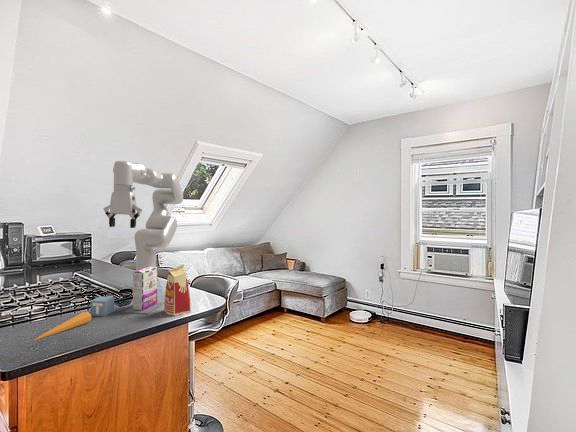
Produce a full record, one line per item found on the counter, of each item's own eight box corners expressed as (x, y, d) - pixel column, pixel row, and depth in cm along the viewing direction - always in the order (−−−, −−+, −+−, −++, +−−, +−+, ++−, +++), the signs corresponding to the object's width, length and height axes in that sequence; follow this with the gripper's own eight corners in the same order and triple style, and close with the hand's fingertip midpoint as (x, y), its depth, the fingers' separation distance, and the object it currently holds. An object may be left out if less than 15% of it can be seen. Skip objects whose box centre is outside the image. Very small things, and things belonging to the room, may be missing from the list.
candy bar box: (147, 302, 146) (148, 266, 145) (157, 303, 145) (158, 267, 144) (131, 310, 135) (132, 271, 134) (142, 311, 134) (143, 272, 133)
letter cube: (100, 310, 134) (100, 296, 134) (114, 311, 134) (114, 297, 134) (90, 315, 128) (90, 300, 128) (104, 316, 128) (104, 301, 127)
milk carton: (181, 306, 143) (183, 262, 142) (191, 312, 136) (193, 265, 136) (161, 310, 136) (162, 264, 136) (171, 316, 130) (172, 267, 129)
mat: (143, 301, 148) (143, 300, 148) (164, 303, 147) (164, 302, 147) (124, 312, 133) (124, 311, 133) (147, 314, 132) (147, 313, 132)
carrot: (87, 322, 123) (83, 311, 123) (95, 320, 121) (91, 308, 121) (30, 349, 104) (25, 335, 104) (37, 346, 103) (33, 333, 103)
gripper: (146, 190, 147) (145, 227, 148) (109, 188, 148) (109, 225, 149) (137, 189, 140) (136, 228, 140) (99, 188, 141) (98, 227, 142)
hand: (122, 227), depth 145 cm, fingers open, 9 cm apart
